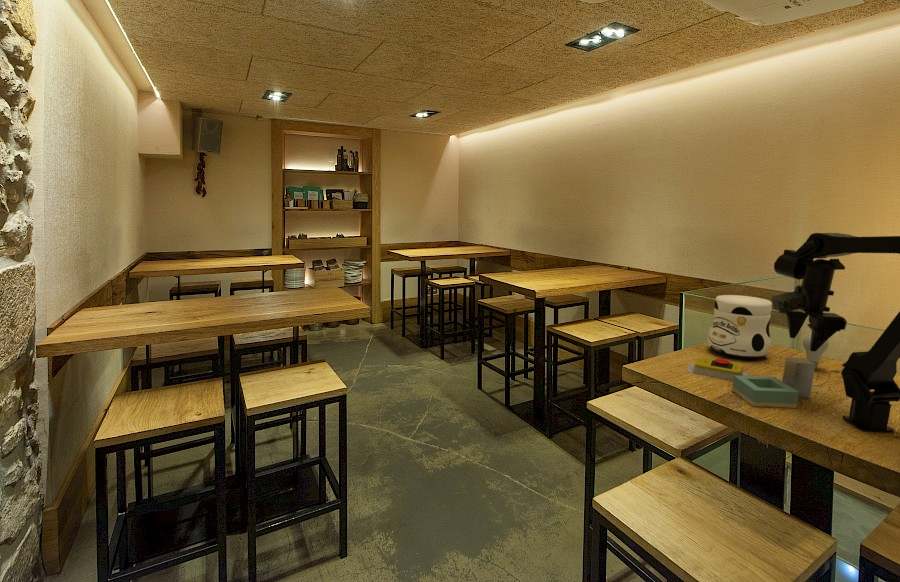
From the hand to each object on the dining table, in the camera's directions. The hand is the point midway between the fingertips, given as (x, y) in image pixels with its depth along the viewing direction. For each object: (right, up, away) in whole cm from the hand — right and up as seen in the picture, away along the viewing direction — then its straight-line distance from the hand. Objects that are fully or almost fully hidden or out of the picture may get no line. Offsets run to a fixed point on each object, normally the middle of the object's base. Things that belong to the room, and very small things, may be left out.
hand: (802, 344), depth 121 cm
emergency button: (-12, -11, +17) cm, 24 cm away
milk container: (+4, -7, +35) cm, 36 cm away
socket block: (-11, -13, -1) cm, 17 cm away
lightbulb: (+18, -10, +21) cm, 30 cm away
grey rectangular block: (0, -13, +2) cm, 13 cm away
